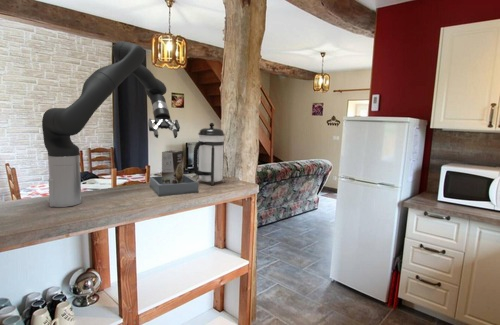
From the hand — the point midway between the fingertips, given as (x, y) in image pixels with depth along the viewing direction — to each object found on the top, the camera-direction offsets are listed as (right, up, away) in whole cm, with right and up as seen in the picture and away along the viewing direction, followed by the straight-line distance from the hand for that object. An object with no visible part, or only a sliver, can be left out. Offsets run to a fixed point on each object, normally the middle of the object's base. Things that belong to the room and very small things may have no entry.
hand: (166, 136), depth 137 cm
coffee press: (+19, -23, +8) cm, 31 cm away
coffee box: (+5, -23, -7) cm, 25 cm away
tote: (+5, -24, -8) cm, 26 cm away
